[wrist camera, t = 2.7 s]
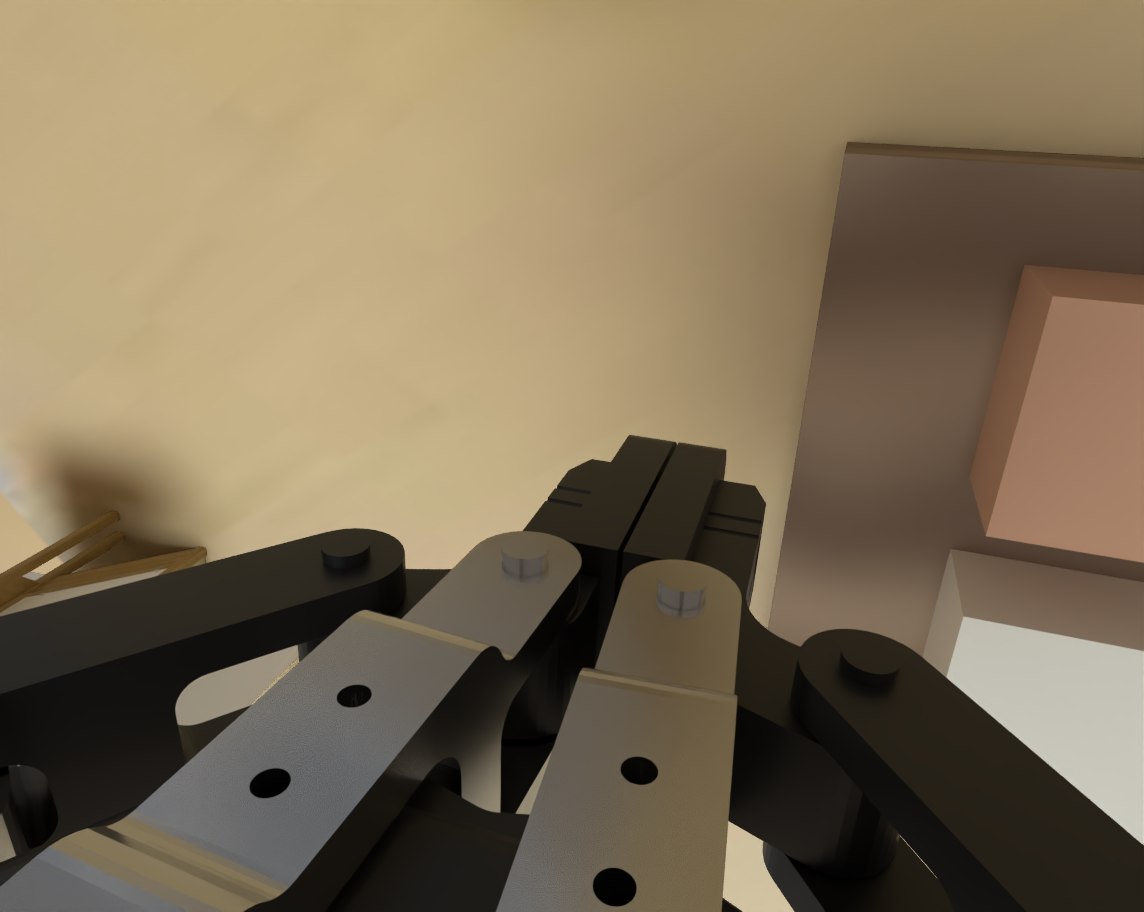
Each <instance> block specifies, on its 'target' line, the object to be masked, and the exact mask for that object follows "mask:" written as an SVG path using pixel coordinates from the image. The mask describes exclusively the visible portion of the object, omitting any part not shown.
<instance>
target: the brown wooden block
mask: <svg viewBox="0 0 1144 912" xmlns="http://www.w3.org/2000/svg"><path fill="white" fill-rule="evenodd" d="M1024 265H1034V266H1045V267H1057V268H1068V269H1080V270H1091V271H1103V272H1114V273H1126V274H1137V275H1144V158H1132V157H1114V156H1095V155H1077V154H1058V153H1040V152H1022V151H1003V150H985V149H966V148H948V147H929V146H911V145H892V144H874V143H855V142H848V143H847V147H846V151H845V155H844V161H843V168H842V174H841V180H840V186H839V192H838V199H837V205H836V211H835V217H834V223H833V230H832V236H831V242H830V248H829V254H828V261H827V267H826V273H825V279H824V286H823V292H822V298H821V304H820V310H819V317H818V323H817V329H816V335H815V341H814V348H813V354H812V360H811V366H810V372H809V379H808V385H807V391H806V397H805V404H804V410H803V416H802V422H801V428H800V435H799V441H798V447H797V453H796V459H795V466H794V472H793V478H792V484H791V490H790V497H789V503H788V509H787V515H786V522H785V528H784V534H783V540H782V546H781V553H780V559H779V565H778V571H777V577H776V584H775V590H774V596H773V602H772V609H771V615H770V621H769V627H768V630H769V631H770V632H772V633H774V634H775V635H777V636H778V637H780V638H782V639H784V640H787V641H789V642H791V643H793V644H795V645H798V646H800V647H801V646H802V644H803V643H804V641H806V640H807V639H808V638H809V637H811V636H813V635H815V634H817V633H819V632H823V631H826V630H833V629H857V630H863V631H869V632H873V633H876V634H880V635H883V636H886V637H888V638H891V639H894V640H896V641H898V642H900V643H902V644H904V645H905V646H907V647H909V648H911V649H912V650H914V651H915V652H916V653H918V654H919V655H920V656H922V657H923V653H924V649H925V645H926V641H927V637H928V634H929V630H930V626H931V622H932V618H933V614H934V611H935V607H936V603H937V599H938V595H939V591H940V587H941V584H942V580H943V576H944V572H945V568H946V564H947V561H948V557H949V553H950V549H955V550H960V551H966V552H972V553H978V554H984V555H989V556H995V557H1001V558H1007V559H1012V560H1018V561H1024V562H1030V563H1036V564H1041V565H1047V566H1053V567H1059V568H1064V569H1070V570H1076V571H1082V572H1087V573H1093V574H1099V575H1105V576H1111V577H1116V578H1122V579H1128V580H1134V581H1139V582H1144V563H1143V562H1137V561H1131V560H1125V559H1119V558H1113V557H1107V556H1101V555H1095V554H1089V553H1083V552H1077V551H1071V550H1065V549H1059V548H1053V547H1047V546H1041V545H1035V544H1029V543H1023V542H1018V541H1012V540H1006V539H1000V538H994V537H988V536H986V535H985V531H984V528H983V524H982V520H981V517H980V513H979V509H978V506H977V502H976V498H975V495H974V491H973V487H972V484H971V480H970V472H971V469H972V465H973V461H974V457H975V453H976V449H977V445H978V442H979V438H980V434H981V430H982V426H983V422H984V419H985V415H986V411H987V407H988V403H989V399H990V396H991V392H992V388H993V384H994V380H995V376H996V373H997V369H998V365H999V361H1000V357H1001V353H1002V350H1003V346H1004V342H1005V338H1006V334H1007V330H1008V326H1009V323H1010V319H1011V315H1012V311H1013V307H1014V303H1015V300H1016V296H1017V292H1018V288H1019V284H1020V280H1021V277H1022V273H1023V269H1024Z"/></svg>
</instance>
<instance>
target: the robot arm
mask: <svg viewBox="0 0 1144 912" xmlns="http://www.w3.org/2000/svg"><path fill="white" fill-rule="evenodd" d="M725 466H726V450H725V449H718V448H712V447H705V446H699V445H692V444H686V443H680V442H679V443H678V445H677V444H676V442H672V441H666V440H659V439H653V438H646V437H640V436H634V435H629V436H628V437H627V439H626V440H625V442H624V443H623V445H622V446H621V448H620V449H619V451H618V452H617V454H616V455H615V457H614V458H613V460H612V461H611V462H606V461H600V460H594V459H591V460H589V461H587V462H585V463H583V464H581V465H579V466H577V467H575V468H573V469H571V470H569V471H568V472H567V473H566V475H565V476H564V477H563V479H562V480H561V481H560V483H559V484H558V485H557V489H556V488H555V489H554V491H553V492H552V493H551V494H550V496H549V497H548V501H545V502H544V504H543V505H542V506H541V508H540V509H539V510H538V512H537V513H536V514H535V515H534V517H533V518H532V519H531V521H530V522H529V523H528V525H527V526H526V527H525V529H524V530H523V531H517V532H508V533H503V534H499V535H495V536H492V537H490V538H487V539H485V540H484V541H482V542H480V543H479V544H478V545H476V546H475V547H474V548H473V549H472V550H471V551H470V552H469V553H468V554H467V555H466V556H465V557H464V558H463V559H462V560H461V561H460V562H459V563H458V564H457V565H456V566H455V567H454V568H453V569H405V551H404V548H403V545H402V544H401V543H400V541H398V540H397V539H396V538H395V537H393V536H391V535H389V534H386V533H384V532H380V531H376V530H370V529H357V528H354V529H341V530H335V531H330V532H325V533H322V534H318V535H314V536H310V537H306V538H302V539H298V540H294V541H291V542H287V543H283V544H279V545H275V546H271V547H267V548H263V549H260V550H256V551H252V552H248V553H244V554H240V555H236V556H232V557H229V558H225V559H221V560H217V561H213V562H209V563H205V564H201V565H198V566H194V567H190V568H186V569H182V570H178V571H174V572H170V573H167V574H163V575H159V576H155V577H151V578H147V579H143V580H139V581H135V582H132V583H128V584H124V585H120V586H116V587H112V588H108V589H104V590H101V591H97V592H93V593H89V594H85V595H81V596H77V597H73V598H70V599H66V600H62V601H58V602H54V603H50V604H46V605H42V606H39V607H35V608H31V609H27V610H23V611H19V612H15V613H11V614H8V615H4V616H0V912H742V911H741V910H739V909H738V908H737V907H735V906H734V905H732V904H731V903H729V902H728V901H727V900H725V899H724V898H723V884H724V871H725V858H726V844H727V831H728V821H730V822H731V823H733V824H735V825H736V826H738V827H740V828H742V829H743V830H745V831H747V832H749V833H750V834H752V835H754V836H756V837H757V838H759V839H761V840H762V841H763V857H764V862H765V865H766V867H767V870H768V872H769V873H770V875H771V877H772V879H773V880H774V882H775V883H776V885H777V886H778V888H779V889H780V891H781V892H782V894H783V895H784V897H785V898H786V900H787V901H788V903H789V904H790V906H791V907H792V909H793V910H794V912H1144V845H1143V844H1142V843H1140V842H1139V841H1138V840H1137V839H1136V838H1135V837H1133V836H1132V835H1131V834H1130V833H1129V832H1127V831H1126V830H1125V829H1124V828H1123V827H1122V826H1120V825H1119V824H1118V823H1117V822H1116V821H1115V820H1113V819H1112V818H1111V817H1110V816H1109V815H1107V814H1106V813H1105V812H1104V811H1103V810H1102V809H1100V808H1099V807H1098V806H1097V805H1096V804H1095V803H1093V802H1092V801H1091V800H1090V799H1089V798H1087V797H1086V796H1085V795H1084V794H1083V793H1082V792H1080V791H1079V790H1078V789H1077V788H1076V787H1075V786H1073V785H1072V784H1071V783H1070V782H1069V781H1067V780H1066V779H1065V778H1064V777H1063V776H1062V775H1060V774H1059V773H1058V772H1057V771H1056V770H1055V769H1053V768H1052V767H1051V766H1050V765H1049V764H1047V763H1046V762H1045V761H1044V760H1043V759H1042V758H1040V757H1039V756H1038V755H1037V754H1036V753H1035V752H1033V751H1032V750H1031V749H1030V748H1029V747H1027V746H1026V745H1025V744H1024V743H1023V742H1022V741H1020V740H1019V739H1018V738H1017V737H1016V736H1015V735H1013V734H1012V733H1011V732H1010V731H1009V730H1007V729H1006V728H1005V727H1004V726H1003V725H1002V724H1000V723H999V722H998V721H997V720H996V719H995V718H993V717H992V716H991V715H990V714H989V713H987V712H986V711H985V710H984V709H983V708H982V707H980V706H979V705H978V704H977V703H976V702H975V701H973V700H972V699H971V698H970V697H969V696H967V695H966V694H965V693H964V692H963V691H962V690H960V689H959V688H958V687H957V686H956V685H954V684H953V683H952V682H951V681H950V680H949V679H947V678H946V677H945V676H944V675H943V674H942V673H940V672H939V671H938V670H937V669H936V668H935V667H933V666H932V665H931V664H930V663H929V662H927V661H926V660H925V659H924V658H923V657H922V656H920V655H919V654H918V653H916V652H915V651H914V650H912V649H911V648H909V647H907V646H905V645H904V644H902V643H900V642H898V641H896V640H894V639H891V638H888V637H886V636H883V635H880V634H876V633H873V632H869V631H863V630H857V629H833V630H826V631H823V632H819V633H817V634H815V635H813V636H811V637H809V638H808V639H807V640H806V641H804V643H803V644H802V646H801V647H800V646H798V645H795V644H793V643H791V642H789V641H787V640H784V639H782V638H780V637H778V636H777V635H775V634H774V633H772V632H770V631H769V630H768V629H766V628H765V627H764V626H762V625H761V624H760V623H759V622H758V621H757V620H756V619H755V618H754V616H753V615H752V613H751V612H750V610H749V606H750V602H751V597H752V592H753V586H754V579H755V573H756V566H757V560H758V553H759V547H760V540H761V534H762V527H763V520H764V514H765V507H766V503H765V501H764V499H763V498H762V496H761V495H760V493H759V491H758V490H757V488H756V487H755V486H752V485H746V484H740V483H734V482H728V481H724V474H725ZM296 645H297V646H298V654H299V663H298V664H297V665H296V666H295V667H294V668H293V669H292V670H291V671H289V672H288V673H287V674H286V675H285V676H284V677H283V678H282V679H280V680H279V681H278V682H277V683H276V684H275V685H274V686H273V687H272V688H270V689H269V690H268V691H267V692H266V693H265V694H264V695H263V696H261V697H260V698H259V699H258V700H257V701H256V702H255V703H254V704H253V705H250V706H247V707H245V708H242V709H239V710H236V711H233V712H230V713H228V714H225V715H222V716H219V717H216V718H213V719H211V720H208V721H205V722H202V723H199V724H196V725H179V724H178V723H177V718H176V712H175V708H176V703H177V700H178V698H179V696H180V694H181V693H182V691H183V690H184V689H185V688H186V687H187V686H188V685H189V684H190V683H192V682H193V681H194V680H196V679H198V678H200V677H202V676H204V675H207V674H210V673H213V672H216V671H219V670H222V669H225V668H228V667H231V666H234V665H237V664H240V663H243V662H246V661H250V660H253V659H256V658H259V657H262V656H265V655H268V654H271V653H274V652H277V651H280V650H283V649H286V648H289V647H293V646H296ZM17 765H20V766H17ZM900 835H901V837H902V838H903V839H904V840H905V841H906V842H907V843H908V845H909V846H910V847H911V848H912V849H913V850H914V851H915V853H916V854H917V855H918V856H919V857H920V858H921V859H922V861H923V862H924V863H925V864H926V865H927V866H928V867H929V869H930V870H931V871H932V872H933V873H934V874H933V873H932V872H931V871H930V870H929V869H928V867H927V866H926V865H925V864H924V863H923V862H922V861H921V859H920V858H919V857H918V856H917V855H916V854H915V853H914V851H913V850H912V849H911V848H910V847H909V846H908V845H907V843H906V842H905V841H904V840H903V839H902V838H901V837H900ZM935 876H936V877H937V878H936V877H935Z"/></svg>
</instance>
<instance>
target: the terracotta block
mask: <svg viewBox="0 0 1144 912" xmlns="http://www.w3.org/2000/svg"><path fill="white" fill-rule="evenodd" d="M970 480H971V484H972V487H973V491H974V495H975V498H976V502H977V506H978V509H979V513H980V517H981V520H982V524H983V528H984V531H985V535H986V536H988V537H994V538H1000V539H1006V540H1012V541H1018V542H1023V543H1029V544H1035V545H1041V546H1047V547H1053V548H1059V549H1065V550H1071V551H1077V552H1083V553H1089V554H1095V555H1101V556H1107V557H1113V558H1119V559H1125V560H1131V561H1137V562H1143V563H1144V275H1137V274H1126V273H1114V272H1103V271H1091V270H1080V269H1068V268H1057V267H1045V266H1034V265H1024V269H1023V273H1022V277H1021V280H1020V284H1019V288H1018V292H1017V296H1016V300H1015V303H1014V307H1013V311H1012V315H1011V319H1010V323H1009V326H1008V330H1007V334H1006V338H1005V342H1004V346H1003V350H1002V353H1001V357H1000V361H999V365H998V369H997V373H996V376H995V380H994V384H993V388H992V392H991V396H990V399H989V403H988V407H987V411H986V415H985V419H984V422H983V426H982V430H981V434H980V438H979V442H978V445H977V449H976V453H975V457H974V461H973V465H972V469H971V472H970Z"/></svg>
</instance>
